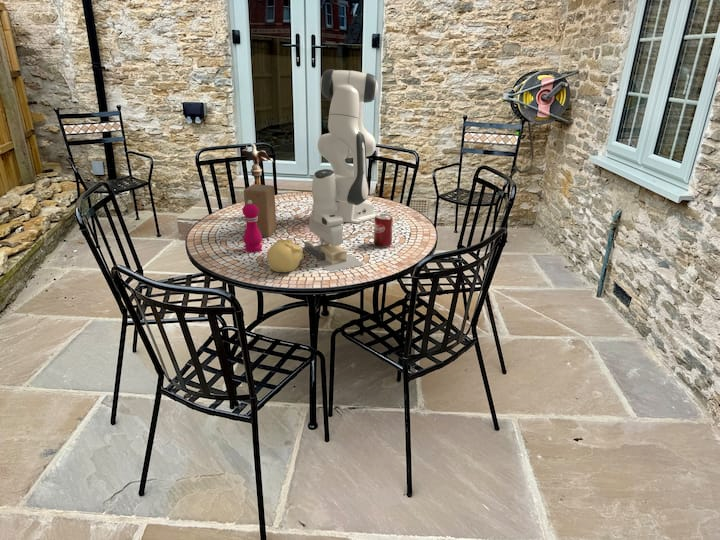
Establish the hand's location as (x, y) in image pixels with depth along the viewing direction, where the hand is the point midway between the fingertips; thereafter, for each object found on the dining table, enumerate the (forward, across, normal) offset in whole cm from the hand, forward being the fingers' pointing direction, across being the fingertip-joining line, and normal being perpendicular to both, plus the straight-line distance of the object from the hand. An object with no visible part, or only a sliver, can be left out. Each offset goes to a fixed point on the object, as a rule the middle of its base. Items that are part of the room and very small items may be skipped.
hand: (325, 249), depth 184 cm
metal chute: (+2, -2, 0) cm, 3 cm away
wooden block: (+2, -35, -12) cm, 37 cm away
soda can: (+2, +2, +25) cm, 26 cm away
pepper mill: (+2, -18, -22) cm, 29 cm away
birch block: (+2, +6, 0) cm, 6 cm away
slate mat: (+2, +11, 0) cm, 11 cm away
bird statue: (+2, -58, -4) cm, 58 cm away
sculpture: (+2, +4, -19) cm, 19 cm away
